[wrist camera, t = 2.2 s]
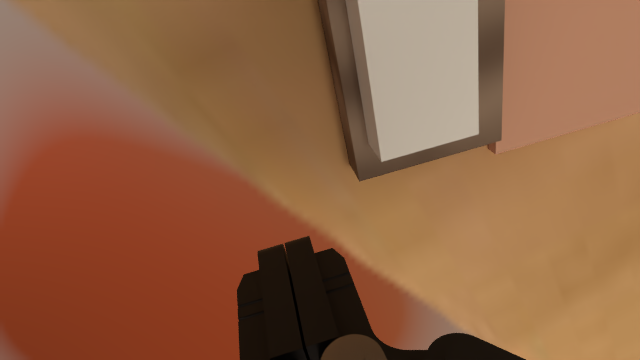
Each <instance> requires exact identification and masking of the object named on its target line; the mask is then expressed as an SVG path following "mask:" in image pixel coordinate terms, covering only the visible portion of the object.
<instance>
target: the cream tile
mask: <svg viewBox="0 0 640 360" xmlns="http://www.w3.org/2000/svg"><path fill="white" fill-rule="evenodd" d="M345 1H346V7H347V13H348V19H349V25H350V32H351V38H352V44H353V50H354V56H355V62H356V69H357V75H358V81H359V87H360V93H361V99H362V106H363V112H364V118H365V124H366V130H367V137H368V143H369V145H370V147H371V148H372V149H373V151H374V152H375V154H376V155H377V156H378V158H379V159H380V161H381V162H383V161H387V160H390V159H394V158H397V157H401V156H404V155H408V154H411V153H415V152H418V151H422V150H425V149H429V148H432V147H436V146H439V145H443V144H446V143H450V142H453V141H457V140H460V139H464V138H467V137H471V136H474V135H478V134H479V92H478V0H345Z"/></svg>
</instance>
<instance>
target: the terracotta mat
mask: <svg viewBox="0 0 640 360" xmlns="http://www.w3.org/2000/svg"><path fill="white" fill-rule="evenodd" d="M636 113H640V0H505V22H504V61H503V101H502V140H501V141H498V142H494V143H491V144H488V149H490V150H491V151H492V152H493V153H495V154H499V153H502V152H505V151H509V150H512V149H516V148H519V147H523V146H526V145H530V144H533V143H536V142H540V141H543V140H547V139H550V138H554V137H557V136H561V135H564V134H567V133H571V132H574V131H578V130H581V129H585V128H588V127H592V126H595V125H598V124H602V123H605V122H609V121H612V120H616V119H619V118H623V117H626V116H629V115H633V114H636Z"/></svg>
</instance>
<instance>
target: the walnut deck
mask: <svg viewBox="0 0 640 360" xmlns="http://www.w3.org/2000/svg"><path fill="white" fill-rule="evenodd" d="M318 3H319V8H320V13H321V18H322V24H323V29H324V34H325V39H326V44H327V49H328V54H329V60H330V65H331V70H332V75H333V80H334V85H335V91H336V96H337V101H338V106H339V111H340V116H341V121H342V127H343V132H344V137H345V142H346V147H347V152H348V158H349V163H350V165H351V167H352V169H353V171H354V172H355V174H356V176H357V178H358V179H359V181H363V180H366V179H370V178H373V177H376V176H380V175H383V174H387V173H390V172H394V171H397V170H401V169H404V168H408V167H411V166H415V165H418V164H422V163H425V162H429V161H432V160H435V159H439V158H442V157H446V156H449V155H453V154H456V153H460V152H463V151H467V150H470V149H474V148H477V147H481V146H484V145H487V144H491V143H494V142H498V141H501V140H502V101H503V61H504V22H505V0H478V92H479V134H478V135H474V136H471V137H467V138H464V139H460V140H457V141H453V142H450V143H446V144H443V145H439V146H436V147H432V148H429V149H425V150H422V151H418V152H415V153H411V154H408V155H404V156H401V157H397V158H394V159H390V160H387V161H383V162H381V161H380V159H379V158H378V156H377V155H376V154H375V152H374V151H373V149H372V148H371V147H370V145H369V143H368V137H367V130H366V124H365V118H364V112H363V106H362V99H361V93H360V87H359V81H358V75H357V69H356V62H355V56H354V50H353V44H352V38H351V32H350V25H349V19H348V13H347V7H346V1H345V0H318Z"/></svg>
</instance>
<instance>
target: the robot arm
mask: <svg viewBox="0 0 640 360" xmlns="http://www.w3.org/2000/svg"><path fill="white" fill-rule="evenodd" d="M285 248H286V251H285ZM285 248H284V245H283V244H280V245H277V246H274V247H270V248H267V249H263V250H260V251H258V261H259V270H257V271H254V272H251V273H247V274H244V275H243V278H242V280H241V282H240V285H239V287H238V289H237V301H238V319H239V322H238V326H239V349H240V360H526V359H523V358H521V357H519V356H517V355H514V354H512V353H510V352H508V351H506V350H503V349H501V348H499V347H497V346H495V345H492V344H490V343H488V342H486V341H483V340H481V339H479V338H477V337H474V336H472V335H468V334H464V333H451V334H447V335H444V336H441V337H439V338H438V339H436V340H435V341H434V342H433V343H432V344H431V345H430V346H429V348H428V350H400V349H396V348H393V347H390V346H388V345H386V344H384V343H383V342H382V341H380V340H379V339H378V338H377V337H376V336H375V334H374V333H373V331H372V329H371V326H370V324H369V322H368V319H367V316H366V313H365V311H364V308H363V306H362V303H361V300H360V298H359V296H358V293H357V290H356V288H355V286H354V282H353V280H352V277H351V275H350V272H349V269H348V267H347V264H346V262H345V259H344V257H342V256H341V255H340V254H339V253H338V252H336V251H335V250H334V249H333V248H331V249H327V250H324V251H321V252H317V253H314V251H313V247H312V244H311V240H310V237H309V236H307V237H303V238H300V239H297V240H293V241H290V242H287V243H285ZM286 253H287V254H286Z"/></svg>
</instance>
